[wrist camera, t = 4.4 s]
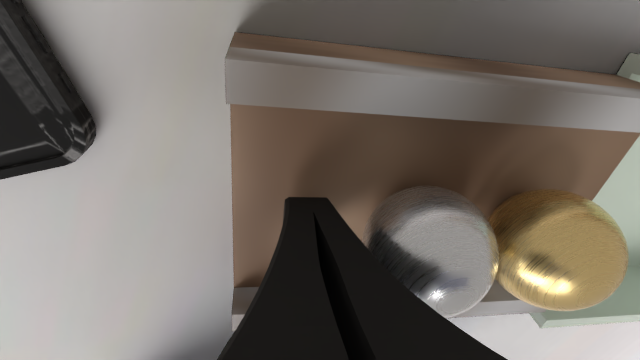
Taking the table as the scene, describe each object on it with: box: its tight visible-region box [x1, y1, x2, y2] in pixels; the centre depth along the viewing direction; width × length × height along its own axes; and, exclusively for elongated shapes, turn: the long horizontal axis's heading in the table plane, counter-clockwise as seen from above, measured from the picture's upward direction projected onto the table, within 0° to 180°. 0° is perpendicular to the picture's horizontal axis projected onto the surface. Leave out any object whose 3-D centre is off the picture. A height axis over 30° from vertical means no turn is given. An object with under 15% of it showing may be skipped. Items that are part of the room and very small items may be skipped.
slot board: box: [225, 32, 640, 331], centre depth 12 cm, size 14×10×3 cm
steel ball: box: [362, 186, 499, 318], centre depth 10 cm, size 4×4×4 cm
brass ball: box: [488, 189, 629, 311], centre depth 11 cm, size 4×4×4 cm
